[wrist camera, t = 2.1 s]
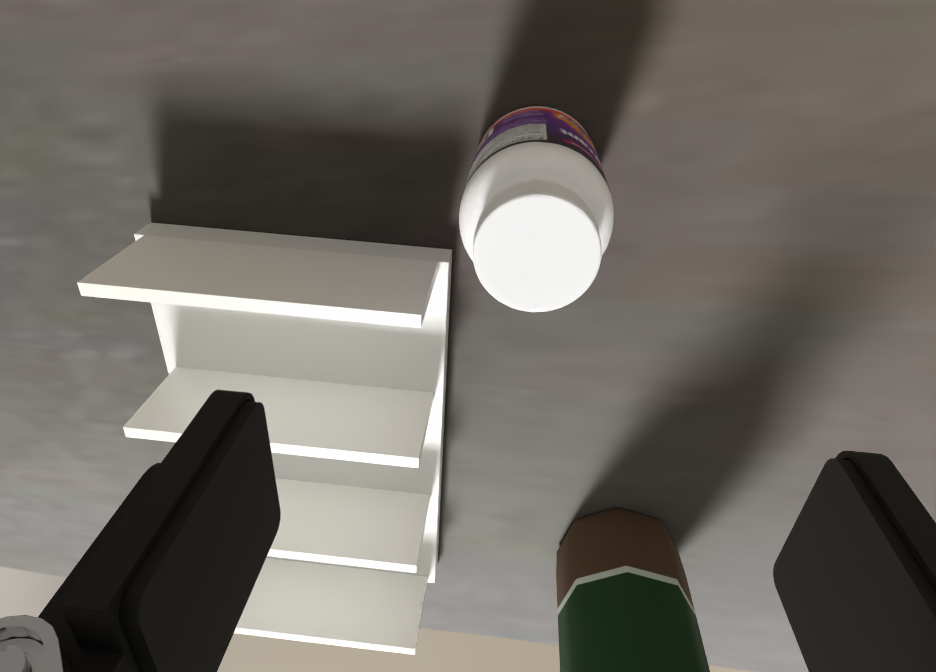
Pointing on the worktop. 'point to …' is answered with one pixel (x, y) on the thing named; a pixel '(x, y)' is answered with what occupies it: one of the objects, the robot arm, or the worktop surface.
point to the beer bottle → (624, 598)
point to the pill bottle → (536, 210)
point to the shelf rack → (312, 408)
